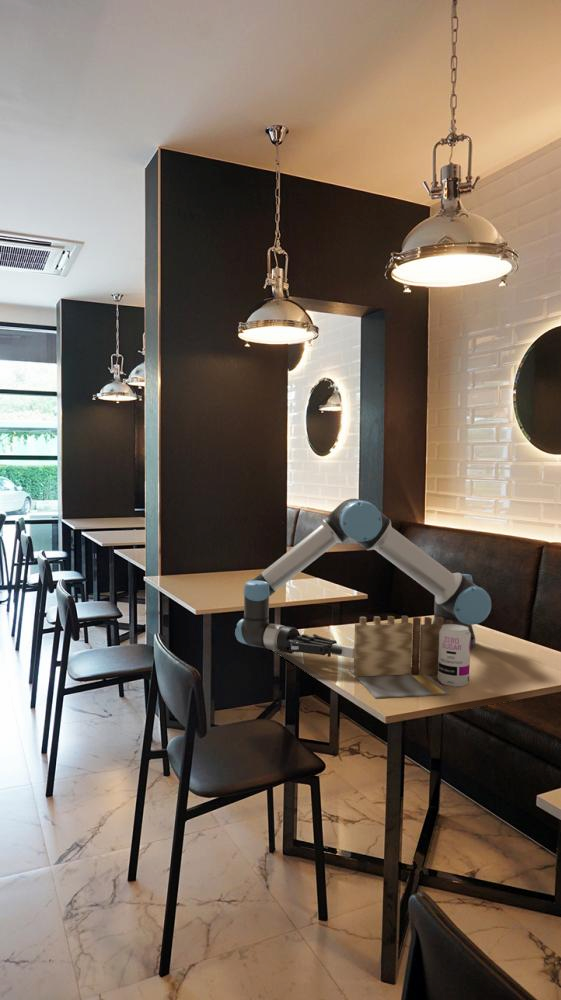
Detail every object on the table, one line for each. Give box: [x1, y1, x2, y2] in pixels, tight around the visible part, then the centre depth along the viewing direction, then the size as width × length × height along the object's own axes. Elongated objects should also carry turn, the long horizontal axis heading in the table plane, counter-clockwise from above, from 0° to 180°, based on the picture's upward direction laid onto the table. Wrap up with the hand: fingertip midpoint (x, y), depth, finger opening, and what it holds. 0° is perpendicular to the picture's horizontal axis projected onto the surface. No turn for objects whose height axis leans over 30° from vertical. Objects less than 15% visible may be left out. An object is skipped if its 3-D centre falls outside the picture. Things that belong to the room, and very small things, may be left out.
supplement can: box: [437, 624, 471, 688], centre depth 179 cm, size 8×8×15 cm
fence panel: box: [353, 615, 413, 678], centre depth 182 cm, size 16×2×16 cm, turn 101°
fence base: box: [349, 616, 453, 699], centre depth 179 cm, size 28×22×16 cm
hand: (353, 652), depth 183 cm, fingers closed
